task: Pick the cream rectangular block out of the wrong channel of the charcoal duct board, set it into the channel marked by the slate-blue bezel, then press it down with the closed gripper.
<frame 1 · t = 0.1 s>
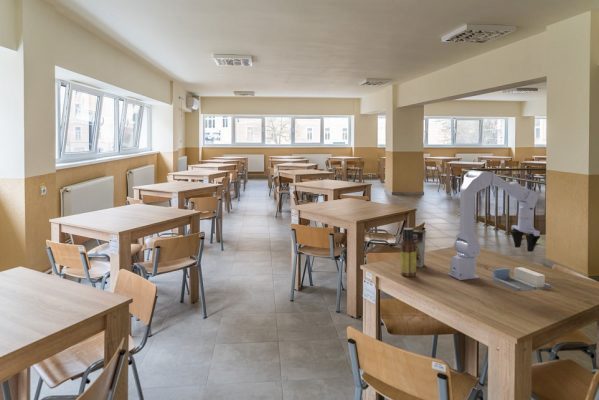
hand: (523, 249, 193), 10 cm above the table, fingers open, 7 cm apart
sauce bottle: (408, 275, 190), on the table
duct board: (521, 284, 178), on the table
coffee box: (412, 265, 206), on the table
cream rectangular block: (528, 282, 179), resting on duct board
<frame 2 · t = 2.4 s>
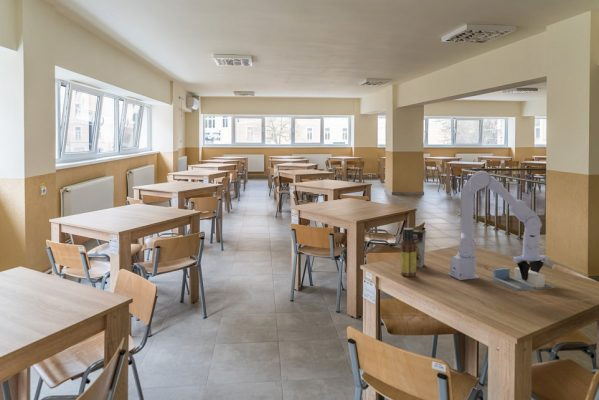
hand: (528, 279, 178), 2 cm above the table, fingers closed on cream rectangular block, 4 cm apart
cream rectangular block: (528, 282, 179), resting on duct board, touching gripper
everything else where it was.
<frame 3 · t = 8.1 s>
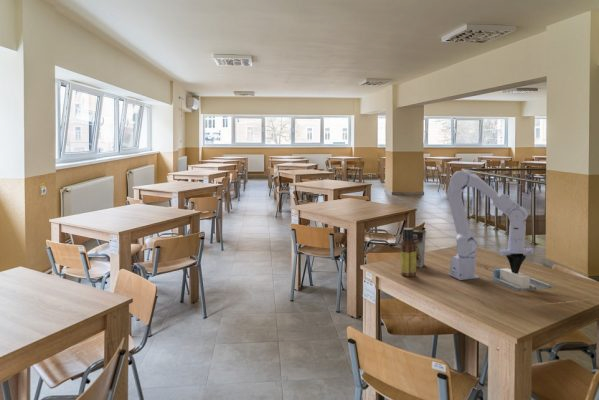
hand: (514, 272, 176), 5 cm above the table, fingers closed, pressing on cream rectangular block
cream rectangular block: (513, 283, 177), resting on duct board, touching gripper
everything else where it was.
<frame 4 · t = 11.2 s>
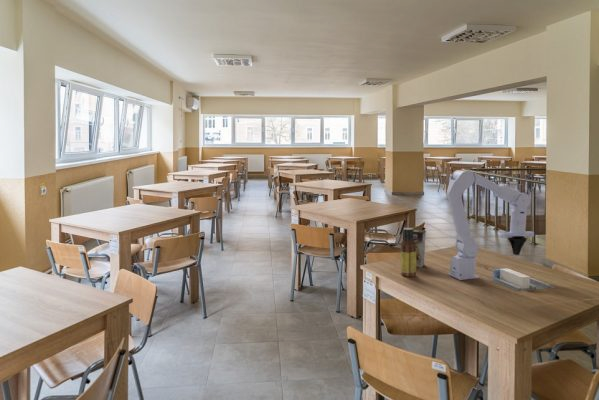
hand: (516, 254, 187), 9 cm above the table, fingers closed
cream rectangular block: (513, 283, 177), resting on duct board
everything else where it was.
at the end: cream rectangular block 0.1 cm from the target spot on the duct board, point 0.4 cm above the duct board's base; cream rectangular block tilted 0°; the gripper is holding nothing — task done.
